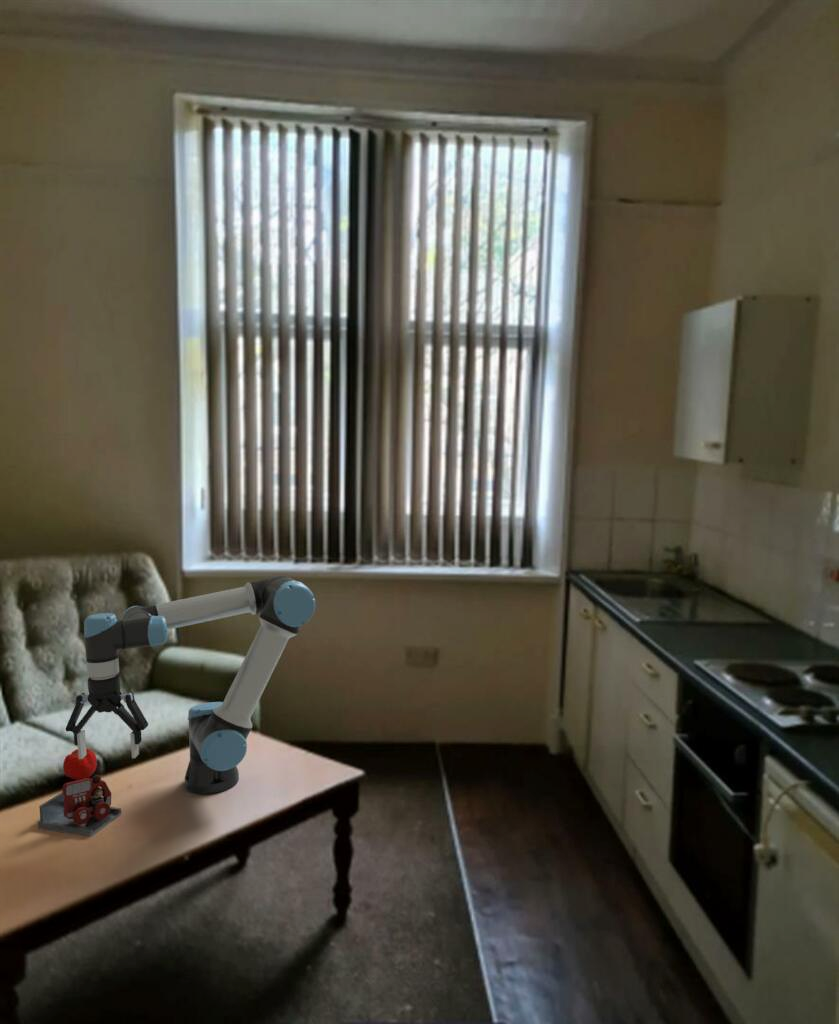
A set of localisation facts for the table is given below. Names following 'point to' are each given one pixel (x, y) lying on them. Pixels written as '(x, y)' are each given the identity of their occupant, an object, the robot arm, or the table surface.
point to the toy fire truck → (86, 799)
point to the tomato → (80, 765)
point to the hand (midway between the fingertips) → (109, 756)
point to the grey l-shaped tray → (58, 822)
